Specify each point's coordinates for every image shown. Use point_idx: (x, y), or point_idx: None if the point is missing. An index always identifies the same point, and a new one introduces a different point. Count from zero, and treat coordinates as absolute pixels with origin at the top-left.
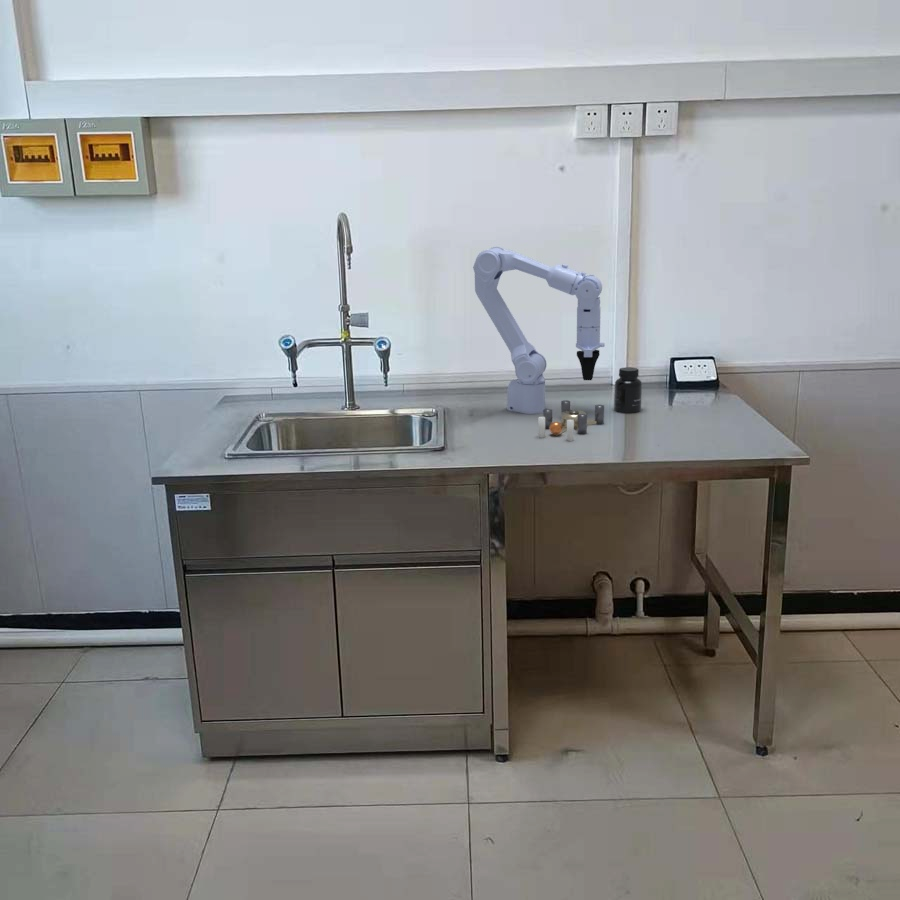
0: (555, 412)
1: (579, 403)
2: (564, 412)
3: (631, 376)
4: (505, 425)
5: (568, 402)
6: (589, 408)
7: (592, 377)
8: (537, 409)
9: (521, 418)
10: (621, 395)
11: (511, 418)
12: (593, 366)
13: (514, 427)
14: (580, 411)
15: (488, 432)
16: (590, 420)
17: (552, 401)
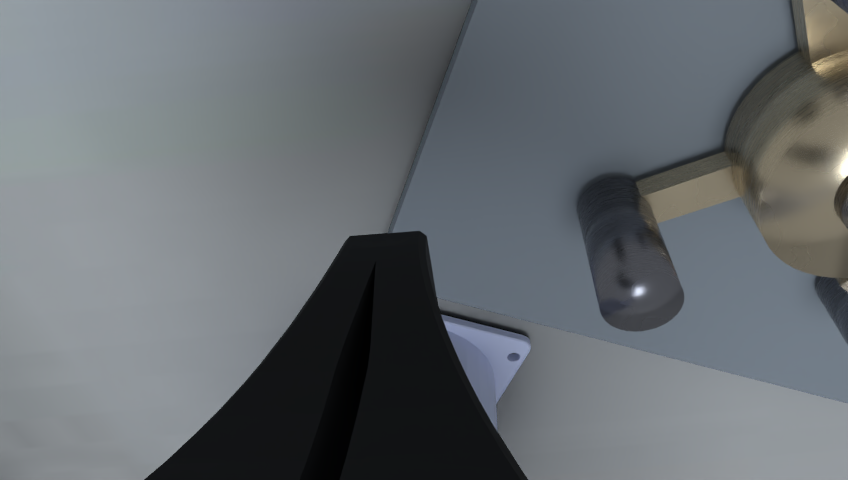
0: (322, 268)
1: (15, 151)
2: (826, 259)
3: None
4: (637, 439)
5: (678, 281)
6: (124, 61)
7: (421, 249)
8: (481, 383)
9: None
10: None
11: (499, 433)
12: (467, 393)
13: (680, 406)
14: (821, 143)
15: (760, 477)
16: (816, 9)
17: (62, 309)
